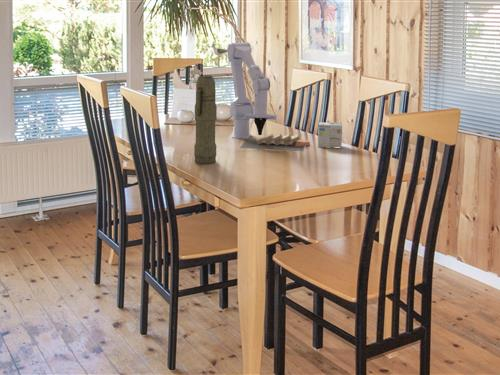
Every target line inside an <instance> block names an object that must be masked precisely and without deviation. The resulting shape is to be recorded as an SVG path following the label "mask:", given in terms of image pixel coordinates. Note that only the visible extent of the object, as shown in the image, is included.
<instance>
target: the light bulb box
mask: <svg viewBox="0 0 500 375" xmlns="http://www.w3.org/2000/svg"><path fill="white" fill-rule="evenodd" d="M317 134H318V135H317V148H323V147H328V148H327V149H330V148H329V147H341V148H342V142H343V123H342V122H320V121H319V123H318V131H317Z"/></svg>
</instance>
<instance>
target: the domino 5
mask: <svg viewBox="0 0 500 375" xmlns="http://www.w3.org/2000/svg"><path fill="white" fill-rule="evenodd" d="M291 144H292V145H294V146H310V144H311V142H310V141H309V140H307V139H300V140H298V141H296V142H293V143H291Z"/></svg>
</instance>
